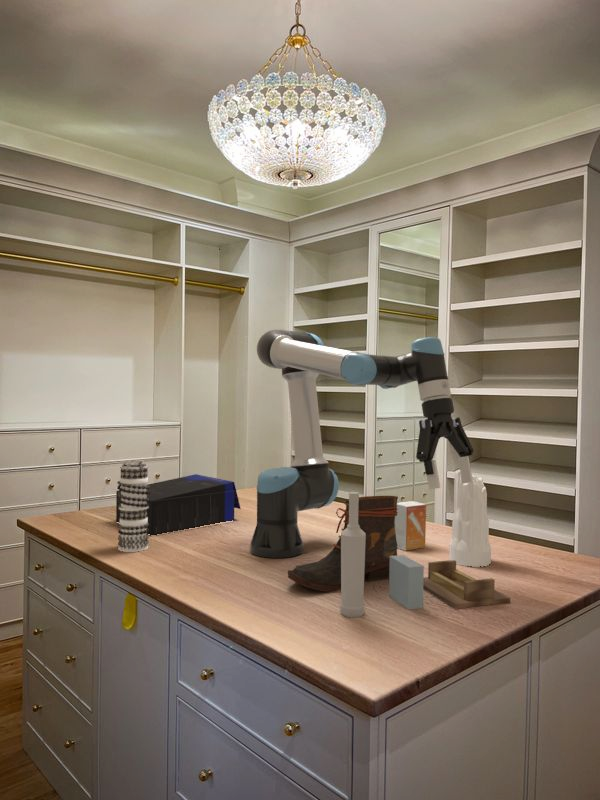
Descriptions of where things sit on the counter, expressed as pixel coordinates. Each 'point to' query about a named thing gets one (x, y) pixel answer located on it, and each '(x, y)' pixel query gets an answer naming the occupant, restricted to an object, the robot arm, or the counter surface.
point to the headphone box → (188, 503)
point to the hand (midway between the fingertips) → (451, 485)
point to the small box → (410, 525)
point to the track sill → (460, 586)
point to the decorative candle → (133, 507)
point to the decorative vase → (470, 524)
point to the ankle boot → (379, 546)
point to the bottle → (352, 563)
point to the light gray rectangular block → (406, 581)
